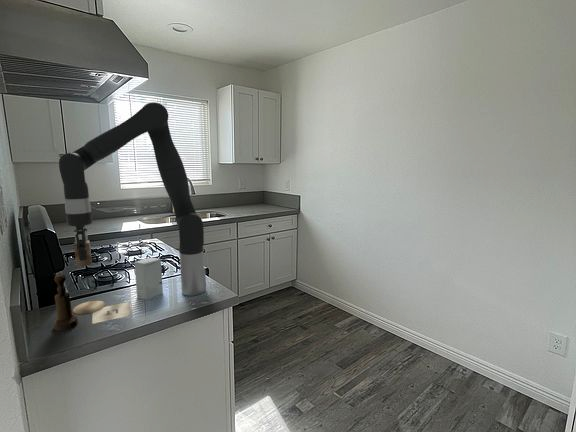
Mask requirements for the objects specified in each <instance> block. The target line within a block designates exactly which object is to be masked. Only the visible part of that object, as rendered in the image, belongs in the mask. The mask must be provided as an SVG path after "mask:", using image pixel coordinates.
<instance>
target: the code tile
mask: <svg viewBox="0 0 576 432" xmlns="http://www.w3.org/2000/svg"><path fill="white" fill-rule="evenodd" d="M91 314H92V315H91V316H92V318H91V324H92V325H94V324H99V323H102V322H106V321H112V320H116V319H120V318H125V317H129V316H132V314H133V313H132V309H131V305H130V302H129V301H127V302H121V303H117V304H113V305H107V306H106V305H105V306H104V307H103V308H102V309H100V310H98V311H96V312H93V313H91Z"/></svg>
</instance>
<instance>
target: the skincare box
mask: <svg viewBox="0 0 576 432" xmlns="http://www.w3.org/2000/svg"><path fill="white" fill-rule="evenodd" d="M133 263H134V273H135V288H136V297H137V298H138V299H141V300H144V301H147V300H149V299H153V298H155V297H157V296H159V295H162V294H163V293H164V290H163V276H162V275H163V272H162V260H161V258H157V257H148V258H144V259H140V260H137V261H134V262H133Z"/></svg>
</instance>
